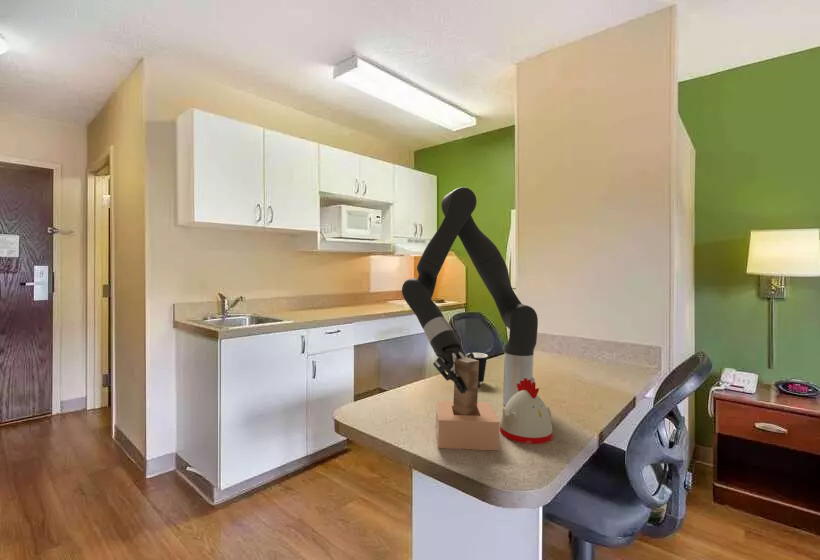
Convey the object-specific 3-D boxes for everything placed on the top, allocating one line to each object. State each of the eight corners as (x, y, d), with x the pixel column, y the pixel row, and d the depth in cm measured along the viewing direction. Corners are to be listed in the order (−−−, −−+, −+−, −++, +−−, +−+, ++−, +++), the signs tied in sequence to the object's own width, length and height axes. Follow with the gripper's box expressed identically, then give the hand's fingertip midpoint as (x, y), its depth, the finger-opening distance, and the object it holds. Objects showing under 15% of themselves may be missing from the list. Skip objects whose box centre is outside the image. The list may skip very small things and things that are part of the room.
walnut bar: (464, 408, 114) (466, 357, 113) (476, 413, 110) (478, 360, 110) (453, 411, 111) (455, 359, 110) (465, 416, 107) (467, 362, 107)
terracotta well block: (488, 426, 118) (489, 402, 118) (498, 450, 103) (499, 422, 103) (435, 424, 118) (436, 400, 118) (438, 448, 103) (438, 420, 103)
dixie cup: (491, 384, 160) (491, 356, 160) (473, 386, 157) (474, 357, 157) (479, 379, 168) (480, 352, 167) (462, 381, 164) (463, 353, 164)
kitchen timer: (521, 447, 105) (523, 388, 105) (489, 427, 118) (491, 374, 117) (563, 439, 111) (565, 383, 110) (529, 421, 123) (531, 370, 123)
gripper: (428, 330, 111) (459, 387, 102) (466, 327, 120) (497, 378, 111) (415, 347, 115) (444, 402, 106) (452, 342, 124) (481, 393, 115)
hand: (471, 389), depth 109 cm, fingers closed on walnut bar, 4 cm apart
